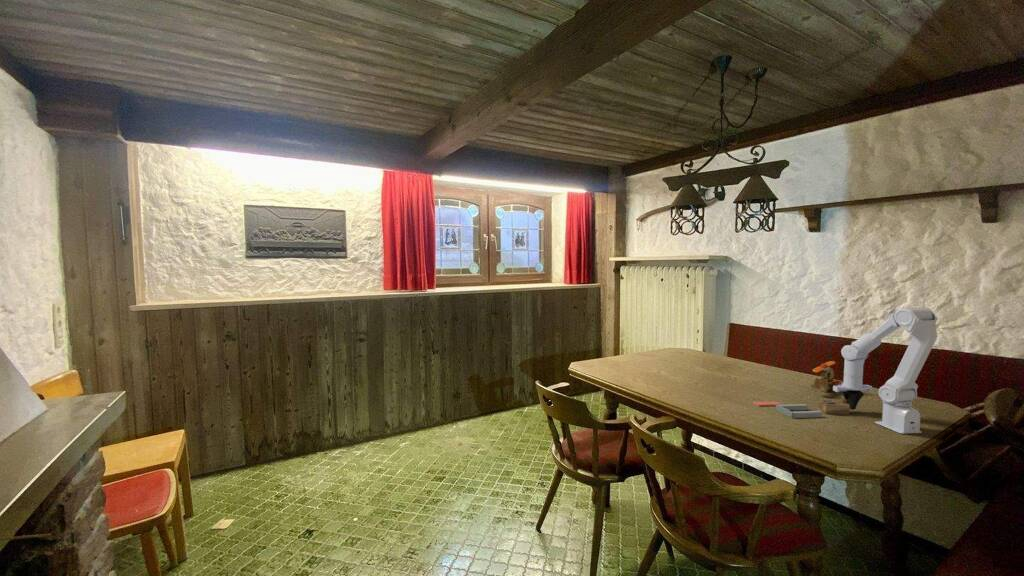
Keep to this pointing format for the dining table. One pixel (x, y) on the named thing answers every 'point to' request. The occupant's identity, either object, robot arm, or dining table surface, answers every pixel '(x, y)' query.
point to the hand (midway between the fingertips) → (851, 408)
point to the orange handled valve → (824, 377)
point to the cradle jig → (802, 414)
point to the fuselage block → (834, 407)
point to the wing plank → (767, 403)
